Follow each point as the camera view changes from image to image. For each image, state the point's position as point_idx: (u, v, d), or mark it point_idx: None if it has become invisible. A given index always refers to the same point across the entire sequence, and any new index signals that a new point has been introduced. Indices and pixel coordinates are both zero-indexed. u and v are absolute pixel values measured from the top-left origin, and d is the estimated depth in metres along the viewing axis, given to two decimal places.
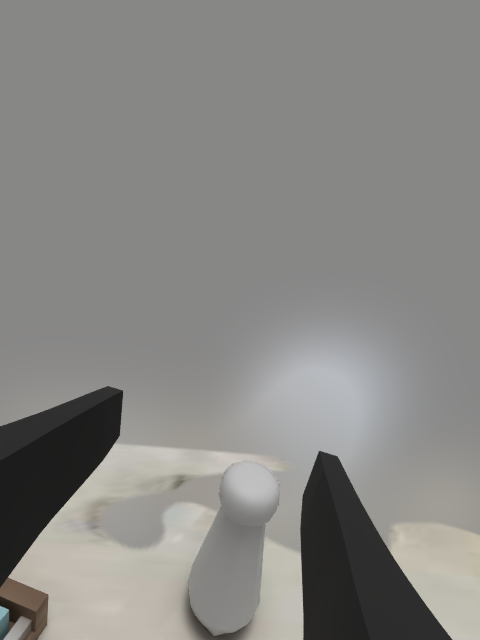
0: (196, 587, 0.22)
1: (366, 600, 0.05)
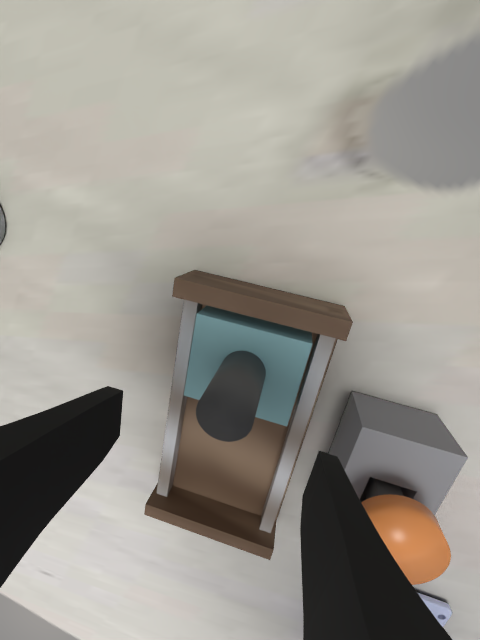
0: None
1: (366, 600, 0.05)
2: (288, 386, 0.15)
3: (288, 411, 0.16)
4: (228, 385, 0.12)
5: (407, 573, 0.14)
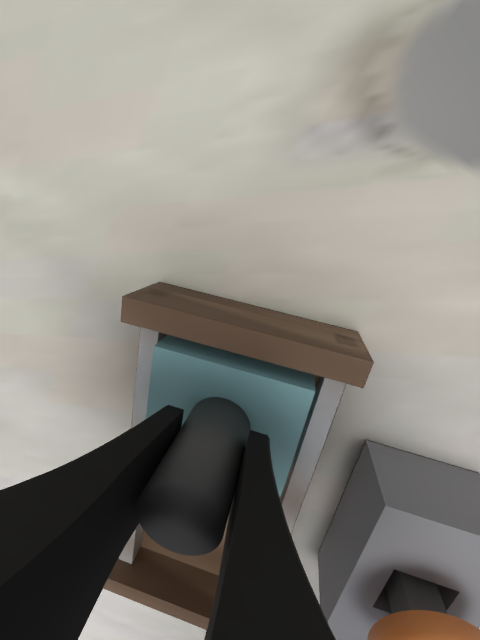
0: None
1: (240, 554, 0.06)
2: (282, 445, 0.11)
3: (282, 478, 0.12)
4: (184, 472, 0.08)
5: None
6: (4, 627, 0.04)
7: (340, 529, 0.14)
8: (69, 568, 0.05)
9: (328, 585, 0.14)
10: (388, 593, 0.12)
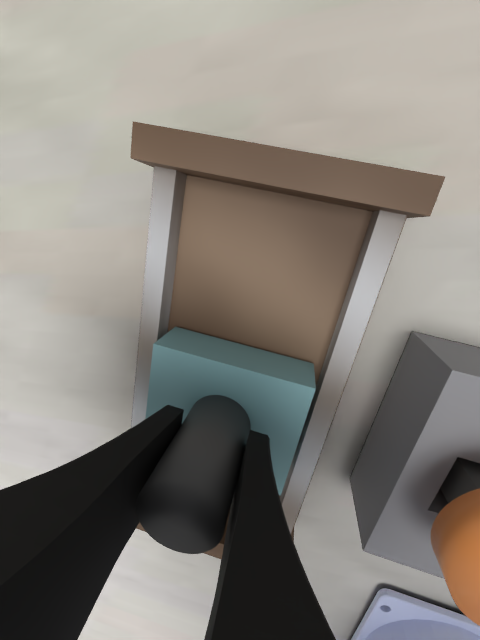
0: None
1: (240, 553, 0.06)
2: (282, 443, 0.11)
3: (282, 476, 0.12)
4: (183, 470, 0.08)
5: None
6: (4, 627, 0.04)
7: (381, 436, 0.12)
8: (68, 567, 0.06)
9: (368, 499, 0.12)
10: (446, 494, 0.10)
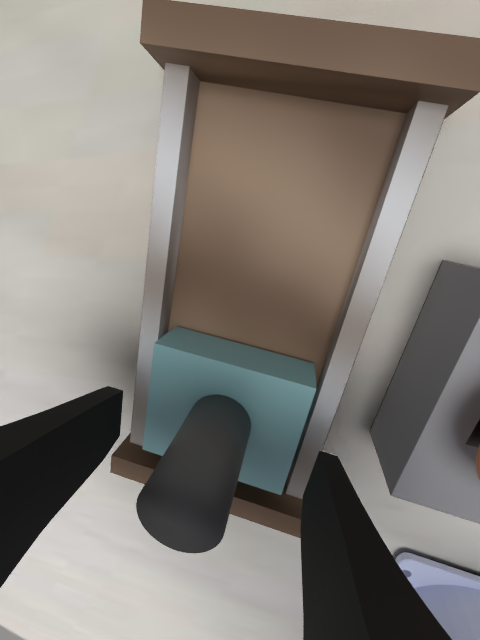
0: None
1: (367, 600, 0.05)
2: (282, 443, 0.11)
3: (282, 476, 0.12)
4: (184, 469, 0.08)
5: None
6: None
7: (408, 376, 0.11)
8: None
9: (395, 442, 0.11)
10: None
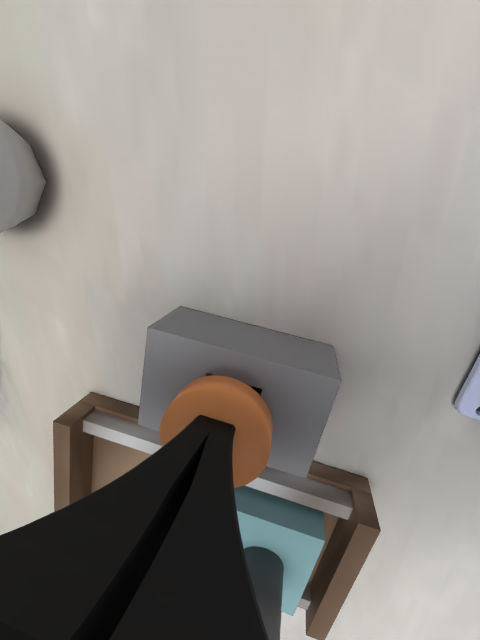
0: None
1: (180, 532, 0.06)
2: (273, 531, 0.15)
3: (305, 536, 0.14)
4: None
5: (247, 435, 0.10)
6: None
7: None
8: (128, 590, 0.05)
9: None
10: None
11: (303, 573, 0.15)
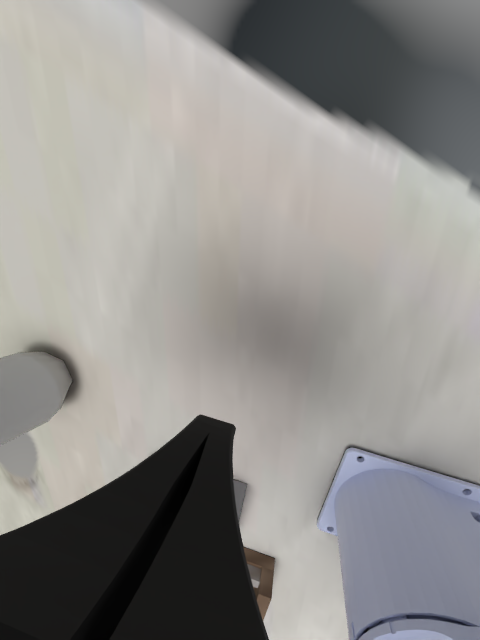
0: None
1: (180, 532, 0.06)
2: None
3: None
4: None
5: None
6: None
7: None
8: (128, 590, 0.05)
9: None
10: None
11: None
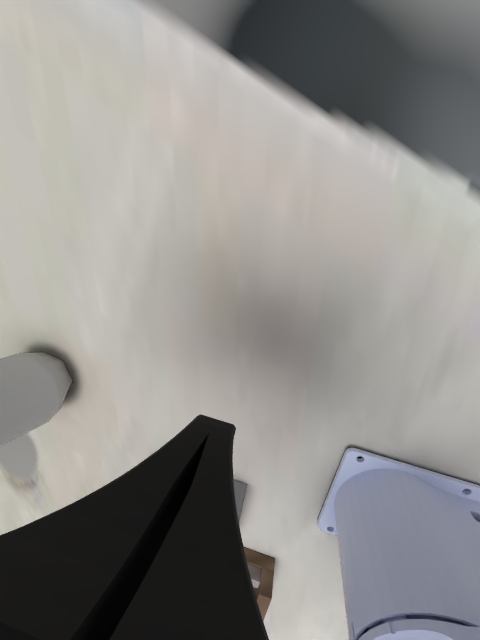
0: (32, 429, 0.22)
1: (180, 532, 0.06)
2: None
3: None
4: None
5: None
6: None
7: None
8: (127, 591, 0.05)
9: None
10: None
11: None
